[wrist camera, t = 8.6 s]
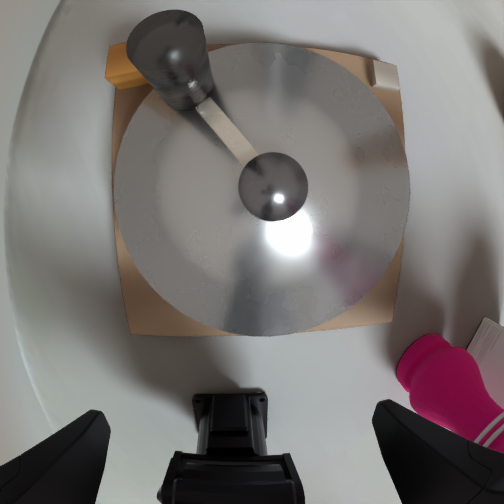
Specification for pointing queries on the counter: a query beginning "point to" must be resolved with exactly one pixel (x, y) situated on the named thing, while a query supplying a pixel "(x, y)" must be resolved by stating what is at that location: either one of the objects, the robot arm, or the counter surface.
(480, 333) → the skincare box
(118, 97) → the dial base
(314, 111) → the dial
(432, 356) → the pepper mill
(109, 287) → the counter surface
